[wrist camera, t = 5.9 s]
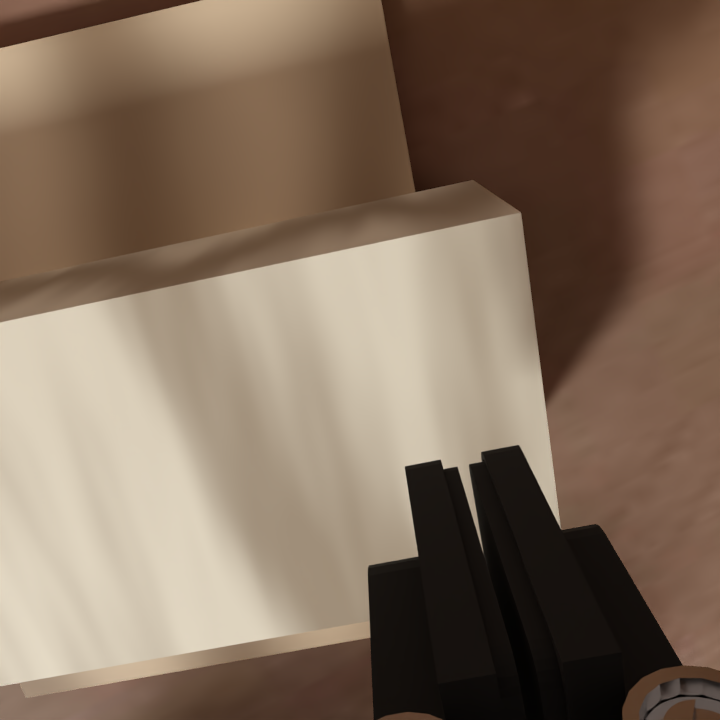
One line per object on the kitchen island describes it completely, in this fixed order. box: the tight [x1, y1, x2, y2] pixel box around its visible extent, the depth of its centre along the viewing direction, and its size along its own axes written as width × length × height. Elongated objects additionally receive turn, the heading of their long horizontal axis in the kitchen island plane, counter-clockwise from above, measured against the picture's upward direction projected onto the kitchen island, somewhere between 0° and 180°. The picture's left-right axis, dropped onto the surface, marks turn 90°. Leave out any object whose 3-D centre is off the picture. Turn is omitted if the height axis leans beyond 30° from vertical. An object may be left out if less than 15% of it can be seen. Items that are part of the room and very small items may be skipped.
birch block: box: [0, 180, 561, 686], centre depth 16 cm, size 5×8×14 cm
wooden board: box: [0, 0, 415, 698], centre depth 19 cm, size 15×18×1 cm
